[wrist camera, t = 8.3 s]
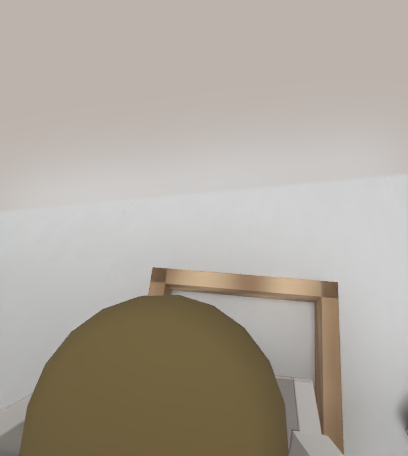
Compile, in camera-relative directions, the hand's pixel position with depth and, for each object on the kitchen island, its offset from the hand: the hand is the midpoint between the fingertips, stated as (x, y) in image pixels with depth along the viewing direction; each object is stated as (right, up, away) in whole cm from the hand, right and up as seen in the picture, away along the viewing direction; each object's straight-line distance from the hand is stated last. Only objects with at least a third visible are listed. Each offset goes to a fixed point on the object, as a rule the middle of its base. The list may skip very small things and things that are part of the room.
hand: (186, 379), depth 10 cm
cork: (+1, -3, +6) cm, 6 cm away
